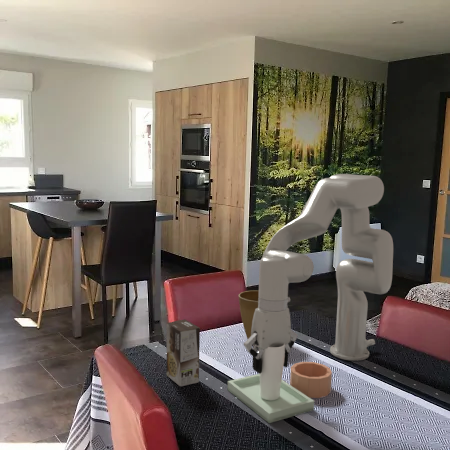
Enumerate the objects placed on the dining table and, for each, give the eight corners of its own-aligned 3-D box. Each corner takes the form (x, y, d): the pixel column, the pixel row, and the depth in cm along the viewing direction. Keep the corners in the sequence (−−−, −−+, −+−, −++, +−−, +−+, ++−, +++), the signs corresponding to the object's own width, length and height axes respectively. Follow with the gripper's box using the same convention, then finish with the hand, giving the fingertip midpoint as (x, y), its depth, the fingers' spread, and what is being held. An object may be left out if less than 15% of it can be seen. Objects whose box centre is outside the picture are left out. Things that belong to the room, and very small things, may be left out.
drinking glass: (281, 404, 133) (284, 348, 131) (255, 400, 134) (257, 345, 132) (283, 392, 140) (286, 339, 137) (258, 389, 141) (261, 336, 139)
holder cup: (312, 377, 152) (313, 359, 151) (338, 392, 142) (339, 373, 141) (282, 384, 146) (283, 366, 145) (307, 401, 137) (308, 381, 136)
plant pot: (281, 348, 173) (283, 302, 171) (237, 347, 173) (239, 301, 171) (277, 332, 188) (279, 290, 186) (237, 331, 188) (238, 289, 186)
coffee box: (199, 382, 146) (201, 327, 144) (179, 387, 143) (180, 331, 141) (185, 370, 154) (185, 318, 152) (165, 375, 151) (165, 321, 148)
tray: (269, 379, 149) (269, 371, 149) (313, 410, 132) (314, 400, 132) (227, 389, 142) (227, 381, 142) (268, 423, 125) (269, 413, 125)
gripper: (290, 296, 141) (288, 357, 144) (236, 304, 132) (234, 369, 135) (308, 303, 135) (305, 367, 137) (252, 312, 126) (250, 380, 128)
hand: (270, 367), depth 136 cm, fingers open, 7 cm apart
